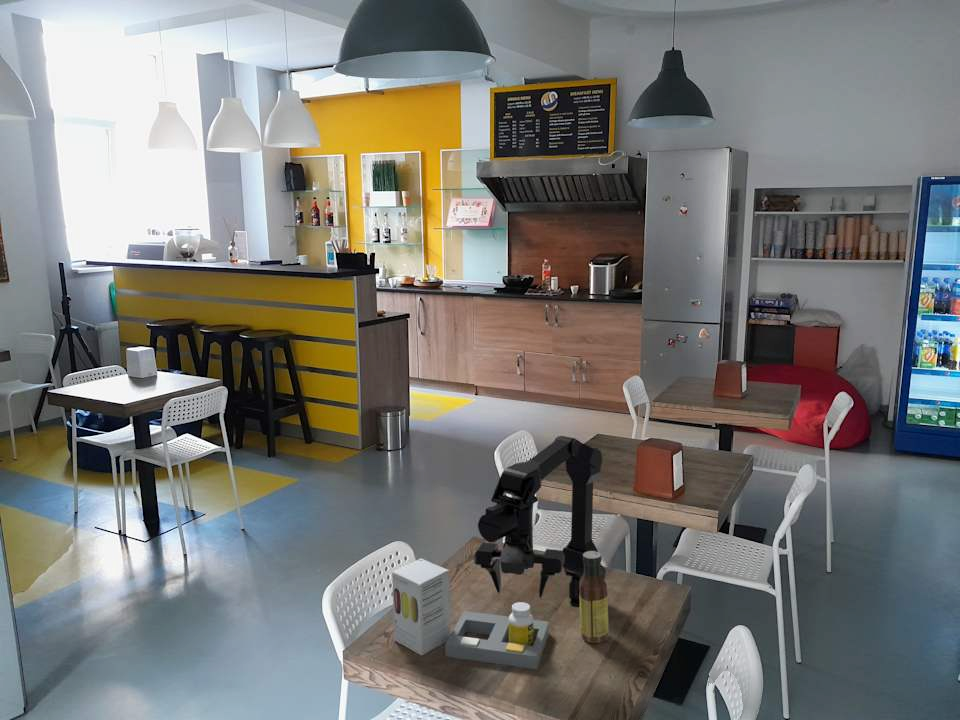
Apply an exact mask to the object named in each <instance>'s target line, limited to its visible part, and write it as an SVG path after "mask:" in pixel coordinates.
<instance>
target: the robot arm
mask: <svg viewBox="0 0 960 720" xmlns="http://www.w3.org/2000/svg"><path fill="white" fill-rule="evenodd" d="M563 463H564V465H565V472H566V473H567V476H568V477H569V479H570V481H571V483H572V484H571V527H570V528H571V529H570V530H571V531H570V533H571V534H570V541H568V544H567V545H566V546H565V547H563V548H562V550H561V549H552V548H546V549H545V551H544V553H543V554H541V553H540V554H539V553H535V552H534V543H533V541H534V540H533V537H534V535H533V533H534V525H533V524H534V523H533V521H534V519H533V518H534V517H533V516H534V514H533V511H534V508H533V506H534V505H533V504H535V503H537V502H538V501H539V498H538V497H537V496H535V495H536V493H538V492H539V490H540V489H541V488H542V481H543V480H544V479H545V478H546V477H547V476H549V474H551V473H552V472H553V471H555V470H556V469H557V468H558V467H559V466H561V465H562V464H563ZM602 464H603V455H602V452H601V451H600V450H599V448H597V447H593V446H590V445H587V444H585V443H583V442H581V441H580V440H578V439H577V438H576V437H570V436H565V435H558V436H556V437H555V438H554V441H553V442H551V443H550V444H548V446H546V447H545V448H543V449H542V450H541V451H540V452H538V453H537V454H536V455H534V456H533V457H532V458H530V459H529V460H526V461H524V462H518V463H517V462H516V463H513V464H511V465H510V466H508V467H506V468H505V469H504V470H503V471H502V473H501V474H500V477H499V480H498V482H497V485H496V487H495V489H494V491H493V495H492V496H491V500H490V501H491V503H495V505H493V506H489V507H487V508H485V514H483V515H481V517H480V518H479V520H478V523H477V527H478V528H477V530H478V531H479V534H480V536H481V537H482V538H483V539H484V540H485V541H486V542H484V541H483V542H481V543H480V544H479V546H478V547H477V549H476V550H475V552H474V560H473V561H474V564H475V565H477V566H478V565H479V566H480V568H481V569H485V570H486V571H488V573H489V575H490V577H491V580H492V583H493V585H494V587H495V589H496V592H497V593H498V594H499V593H500V592H501V588H502V583H501V582H502V581H501V580H502V578H501V572H502V574H514V575H518V576H521V575H523V574H524V573H525V570H528V569H533V568H534V565H535V564H540V565H541V572H540V580H539V581H540V582H539V591H538V592H539V594H538V595H539V596H538V597H539V598H542V597H543V594H544V592H545V587H546V584H547V582H548V579H549V578H550V576H552V577H553V576H555V575H556V574H560V573H561V572H562V571H563V570H564V574H565V576H567V577H571V578H570V581H569V590H568V591H569V593H568V595H569V596H568V597H569V599H570V602H569V604H570V606H571V605H573V606H579V607H580V600H579V593H580V588H579V581H580V579H581V577H582V575H583V574H584V561H583V554H584V553H585V552H587V551H596V552H599V551H598V549H597V547H596V545H595V543H594V541H593V512H594V510H593V508H594V506H593V503H594V500H593V499H594V482H595V480H596V479H597V478H598V476H599V475H600V473H601V469H602ZM504 494H507V495H511V496H514V497H511V496H507V495H504ZM503 538H504V543H503V545H502V549H499V544H498V543H495V542H497V541H499V540H500V539H503ZM606 573H607V569H606V567H604V566H603V565H602V564H601V574H602V576H603V578H604V579H605V578H606Z"/></svg>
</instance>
